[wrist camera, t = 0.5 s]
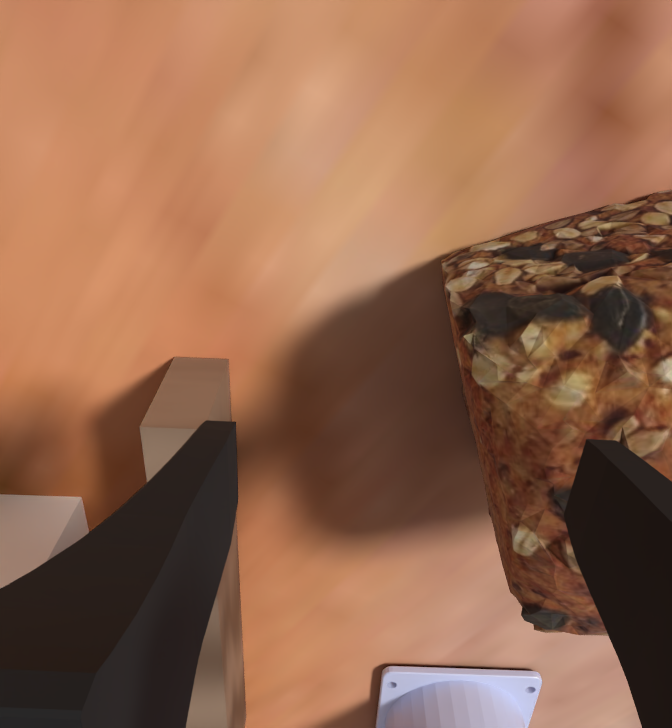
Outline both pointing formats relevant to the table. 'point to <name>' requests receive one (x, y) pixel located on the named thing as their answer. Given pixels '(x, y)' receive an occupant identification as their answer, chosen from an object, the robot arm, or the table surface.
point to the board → (224, 630)
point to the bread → (562, 379)
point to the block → (36, 531)
